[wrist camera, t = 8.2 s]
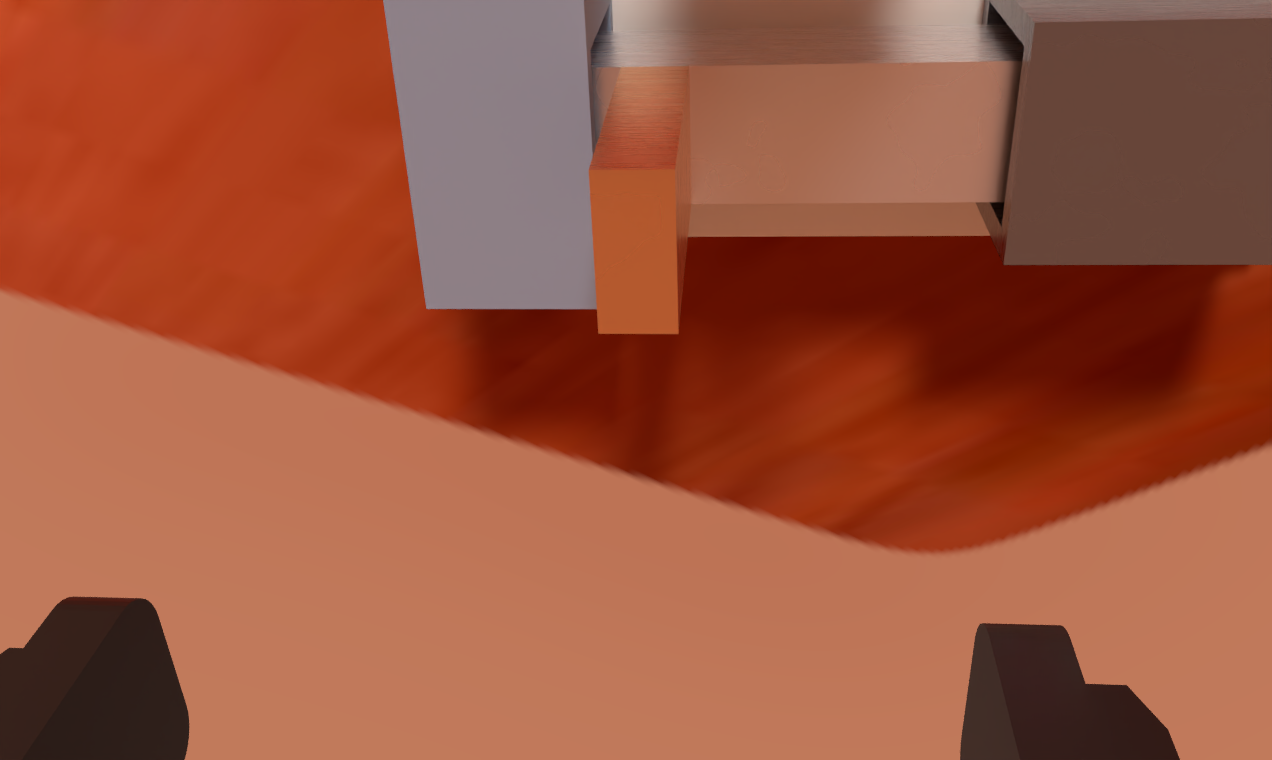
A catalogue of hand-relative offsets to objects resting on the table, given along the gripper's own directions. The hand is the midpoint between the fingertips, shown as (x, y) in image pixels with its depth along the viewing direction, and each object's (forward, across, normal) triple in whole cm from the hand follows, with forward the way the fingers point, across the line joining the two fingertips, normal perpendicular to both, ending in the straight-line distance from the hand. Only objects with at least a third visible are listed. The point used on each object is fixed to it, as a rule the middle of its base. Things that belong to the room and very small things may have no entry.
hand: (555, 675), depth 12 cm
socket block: (+20, +3, 0) cm, 20 cm away
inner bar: (+19, -2, 0) cm, 19 cm away
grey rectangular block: (+20, -11, 0) cm, 23 cm away
